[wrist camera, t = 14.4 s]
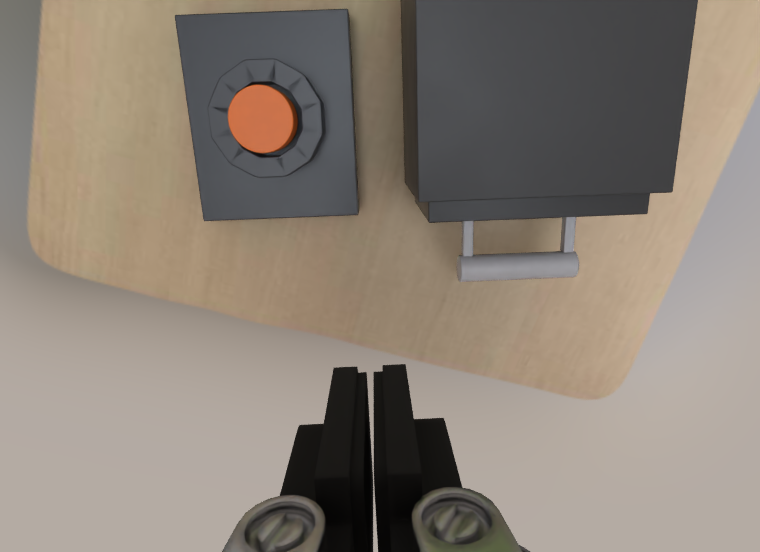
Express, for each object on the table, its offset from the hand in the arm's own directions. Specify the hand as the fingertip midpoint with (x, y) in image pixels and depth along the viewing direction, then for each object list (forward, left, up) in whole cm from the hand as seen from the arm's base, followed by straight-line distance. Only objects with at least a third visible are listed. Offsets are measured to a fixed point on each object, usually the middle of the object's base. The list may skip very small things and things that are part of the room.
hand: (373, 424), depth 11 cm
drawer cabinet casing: (+10, -9, -24) cm, 27 cm away
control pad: (+7, +6, -24) cm, 25 cm away
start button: (+7, +6, -20) cm, 22 cm away
